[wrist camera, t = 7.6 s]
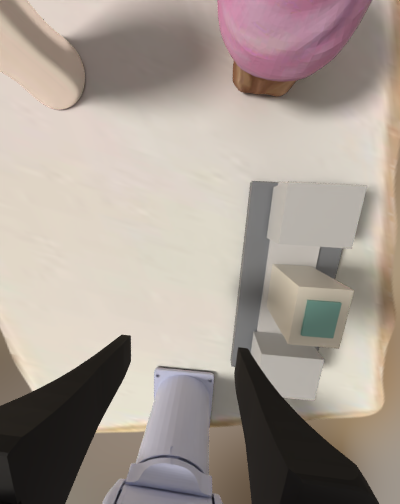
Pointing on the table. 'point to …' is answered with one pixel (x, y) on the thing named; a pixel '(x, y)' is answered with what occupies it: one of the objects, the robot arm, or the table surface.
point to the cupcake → (284, 39)
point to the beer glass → (39, 56)
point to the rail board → (289, 253)
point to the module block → (308, 305)
